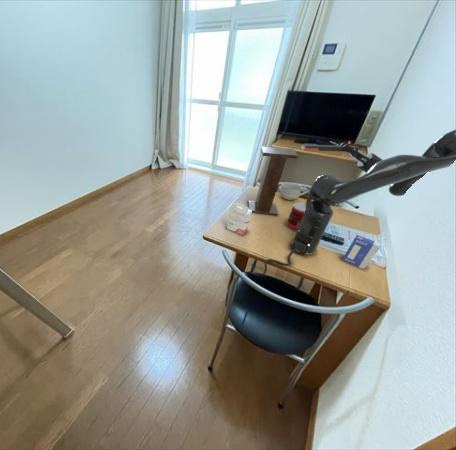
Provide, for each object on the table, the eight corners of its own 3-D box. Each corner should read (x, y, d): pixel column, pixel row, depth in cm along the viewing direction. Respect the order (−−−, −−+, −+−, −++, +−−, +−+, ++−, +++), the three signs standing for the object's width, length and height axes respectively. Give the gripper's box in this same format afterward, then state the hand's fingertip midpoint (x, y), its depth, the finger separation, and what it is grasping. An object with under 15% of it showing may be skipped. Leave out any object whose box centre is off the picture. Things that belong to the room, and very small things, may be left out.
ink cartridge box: (247, 231, 118) (254, 204, 110) (242, 235, 115) (249, 208, 107) (231, 224, 123) (237, 198, 115) (226, 228, 120) (231, 201, 112)
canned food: (304, 224, 123) (312, 205, 117) (302, 232, 118) (310, 212, 112) (287, 219, 127) (294, 201, 120) (285, 227, 121) (292, 207, 115)
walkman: (341, 260, 102) (355, 236, 95) (343, 256, 103) (357, 233, 97) (364, 269, 97) (380, 246, 90) (366, 266, 99) (381, 242, 92)
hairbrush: (353, 149, 113) (355, 144, 112) (358, 153, 109) (360, 148, 108) (301, 147, 118) (302, 143, 117) (303, 151, 114) (304, 146, 113)
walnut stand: (274, 204, 139) (293, 148, 121) (278, 215, 130) (298, 156, 112) (247, 201, 142) (261, 145, 124) (248, 212, 133) (263, 153, 115)
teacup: (277, 199, 145) (281, 186, 140) (279, 192, 153) (282, 180, 148) (303, 205, 140) (308, 192, 135) (304, 197, 148) (308, 184, 143)
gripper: (374, 154, 116) (344, 134, 115) (389, 163, 105) (356, 142, 103) (359, 167, 120) (330, 148, 119) (372, 177, 109) (340, 156, 108)
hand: (343, 145), depth 111 cm, fingers closed on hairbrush, 2 cm apart
